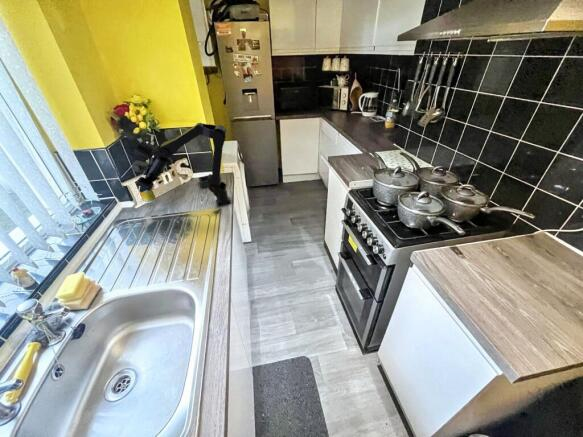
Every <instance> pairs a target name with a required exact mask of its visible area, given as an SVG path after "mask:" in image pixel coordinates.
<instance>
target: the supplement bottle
mask: <svg viewBox="0 0 583 437" xmlns="http://www.w3.org/2000/svg"><path fill="white" fill-rule="evenodd" d="M139 189H140V186H138V190H139ZM139 194H140V196H141V197H142V199H143V202H144V203H147V204H149V203H153V202H155V201H156V199H157V198H156V195H155V193H154V190H153V187H152V188H151V189H150V191H147V190H146V191H144V192H142V193H141V192H139Z"/></svg>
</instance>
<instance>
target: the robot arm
mask: <svg viewBox="0 0 583 437" xmlns="http://www.w3.org/2000/svg"><path fill="white" fill-rule="evenodd" d="M227 134H228V130H227V128H226V127H225V126H224V125H222V124H217V125H216V124H208V123H202V122H197V123H196V124H195V125H193V126H192V127H191V128H189V129H188V130H186V131H185V132H182V134H180V135H179V136H177V137H175V138H173V139H169V140H167V141H165V142H163V143H162V144H159V145H156V146H155V147H154V146H151V145H150V144H149V143H147V142H146V141H144V140H141V141H140V143H139V144H138V145H137V147H136V148H135V149H134V151H133V154H135V155H137V156H138V157H140V158H142V159H143V160H145V161H150V162H149V163H148V162H144V161H141V160H137V159H136V160H134V161H133V162H132V166H131V170H132V171H133V172H137V173H142V175H143V176H139V178H137V180H136V182H135V185H136V186H138V187H139V186H140V187H139V188H140V189H139V188H138V192H139V193H140V192H141V193H142V192H144V191H146V190H147V191H150V189H151V188H152V189H153V186H154V185H155V184H154V182H156V181H157V180H158V179H159V177H161V175H162V173H163V170H164V169H165V167H166V166H167V165H169V166H172V165H173V163H174V162H173V159H172V156H174V155H175V154H176V152H177V151H178V150H179V149H180V148H182V147H183V146H184V145H186V144H188V143H189V142H191V141H192V140H194V139H195V138H197V137H198V136H200V135H201V136H204V137H206V138H208V139H212V143H213V157H212V158H213V159H212V169H211V170H212V171H211V173H208V175H209V177H208V185H207V187H206V188H208V190H209V192H211V193H212V194H213V195H214V196H215V198H216V200H215V201H216V204H217V206H218V207H223V206H226V205H229V204H231V200H230V198H229V196H228V191H227V185H228V184H227V183H225V182H223V181H222V174H221V168H222V159H223V148H224V144H225V142H226V137H227ZM208 186H209V187H208ZM141 193H140V194H141Z"/></svg>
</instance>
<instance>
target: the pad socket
mask: <svg viewBox="0 0 583 437" xmlns="http://www.w3.org/2000/svg"><path fill="white" fill-rule="evenodd" d="M208 177H209V174H207V175H203V176H199V177H198V179H199V183H200V185H201V186H200V187H201V188H202V189H205V188H208V187H209V186H208V187H207V185H208Z"/></svg>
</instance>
